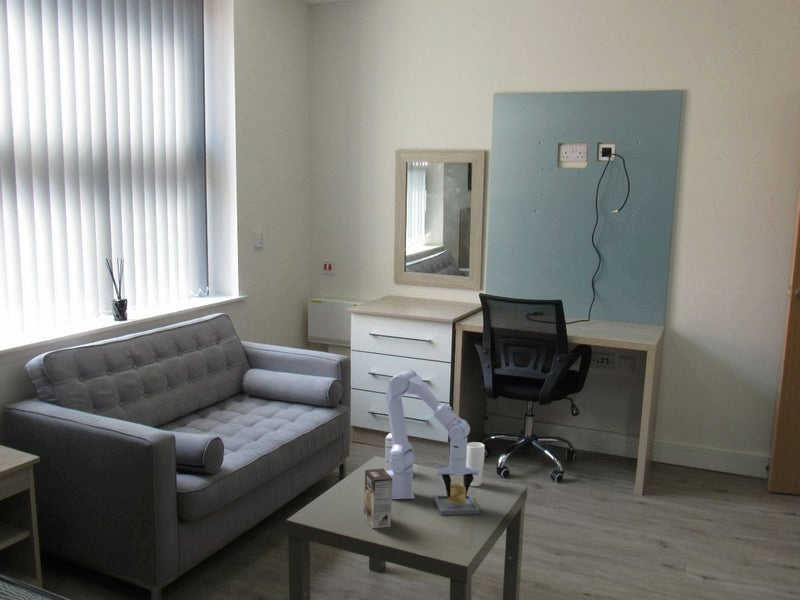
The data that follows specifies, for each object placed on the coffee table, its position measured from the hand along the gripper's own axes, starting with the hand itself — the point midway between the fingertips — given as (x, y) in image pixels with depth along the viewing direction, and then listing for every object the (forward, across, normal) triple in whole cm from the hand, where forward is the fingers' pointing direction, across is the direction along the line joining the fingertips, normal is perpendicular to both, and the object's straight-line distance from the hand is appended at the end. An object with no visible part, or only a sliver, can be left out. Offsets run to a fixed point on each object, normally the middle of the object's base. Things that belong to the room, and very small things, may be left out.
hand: (456, 495), depth 242 cm
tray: (+4, 0, 0) cm, 4 cm away
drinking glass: (+4, +11, +19) cm, 22 cm away
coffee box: (+4, -28, -10) cm, 30 cm away
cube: (+2, 0, 0) cm, 2 cm away
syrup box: (+4, -17, +33) cm, 37 cm away
